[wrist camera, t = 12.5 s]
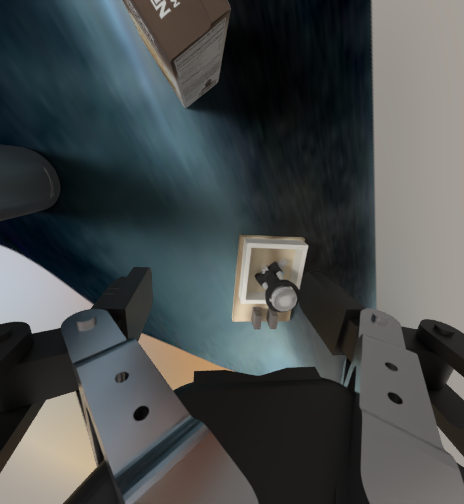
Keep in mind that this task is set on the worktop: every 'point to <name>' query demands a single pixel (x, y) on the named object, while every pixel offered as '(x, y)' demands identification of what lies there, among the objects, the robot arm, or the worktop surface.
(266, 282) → the push button
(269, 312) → the board
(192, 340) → the worktop surface
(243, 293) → the white open box
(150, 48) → the coffee box
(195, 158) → the worktop surface
